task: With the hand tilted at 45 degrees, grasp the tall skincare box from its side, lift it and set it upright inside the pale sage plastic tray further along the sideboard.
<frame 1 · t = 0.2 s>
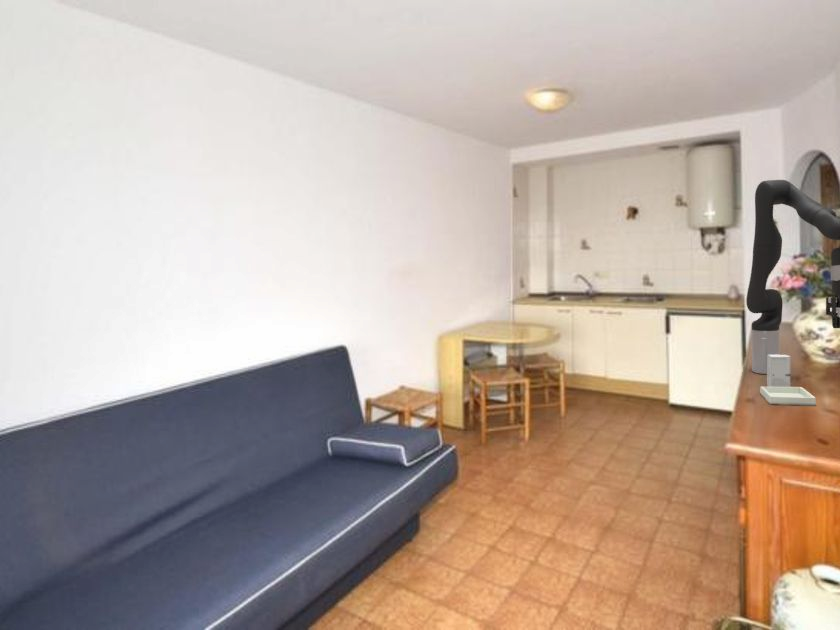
tray: (786, 399, 171), on the table
skincare box: (778, 389, 183), on the table
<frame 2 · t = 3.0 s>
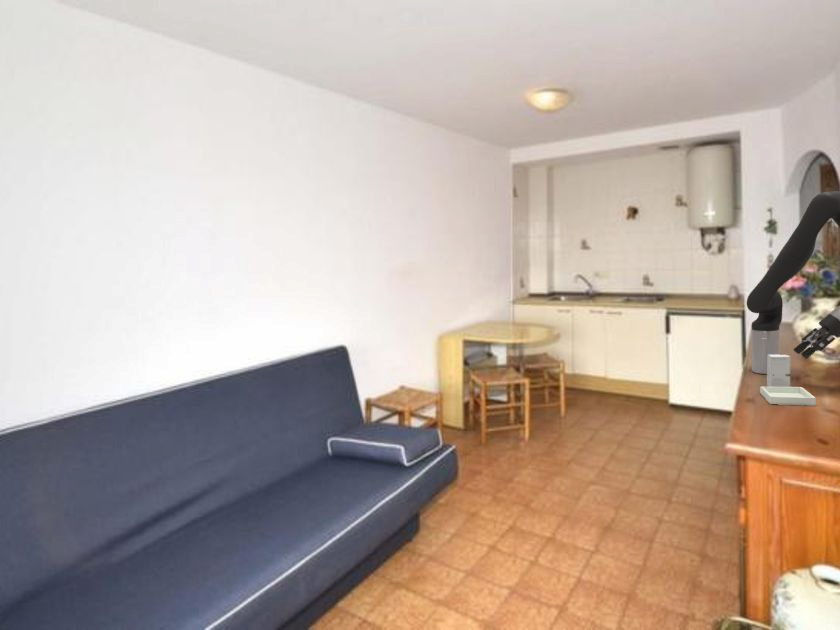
hand: (799, 354, 180), 12 cm above the table, tool tilted 45°, fingers open, 8 cm apart
nothing on the table moved.
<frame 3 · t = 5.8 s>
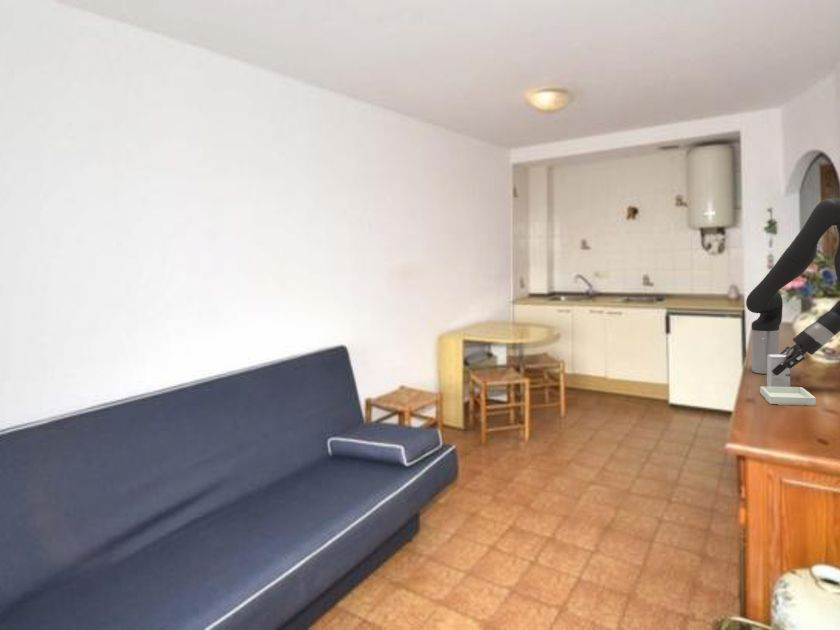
hand: (772, 371, 183), 6 cm above the table, tool tilted 45°, fingers closed on skincare box, 4 cm apart
skincare box: (778, 389, 183), on the table, touching gripper
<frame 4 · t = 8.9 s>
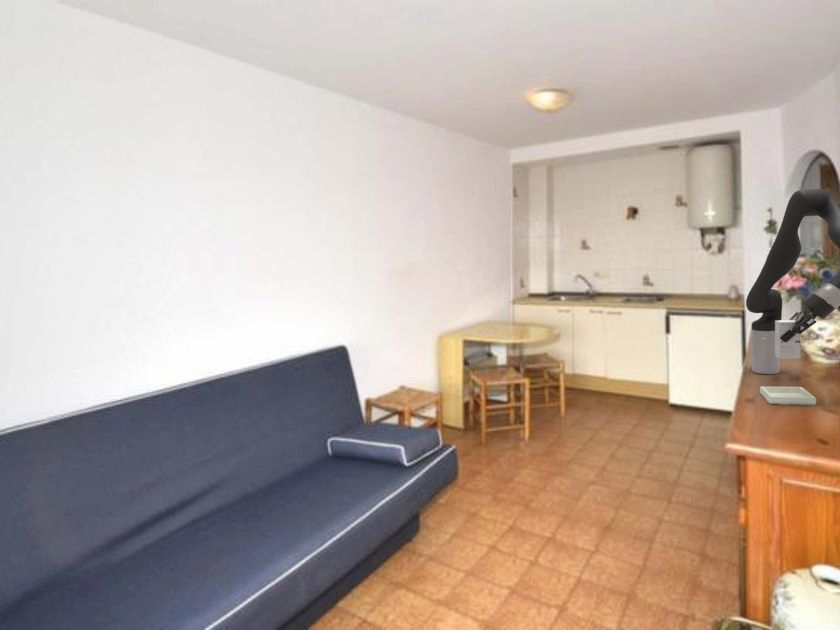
hand: (780, 339, 169), 20 cm above the table, tool tilted 45°, fingers closed on skincare box, 4 cm apart
skincare box: (787, 358, 169), point 14 cm above the table, touching gripper
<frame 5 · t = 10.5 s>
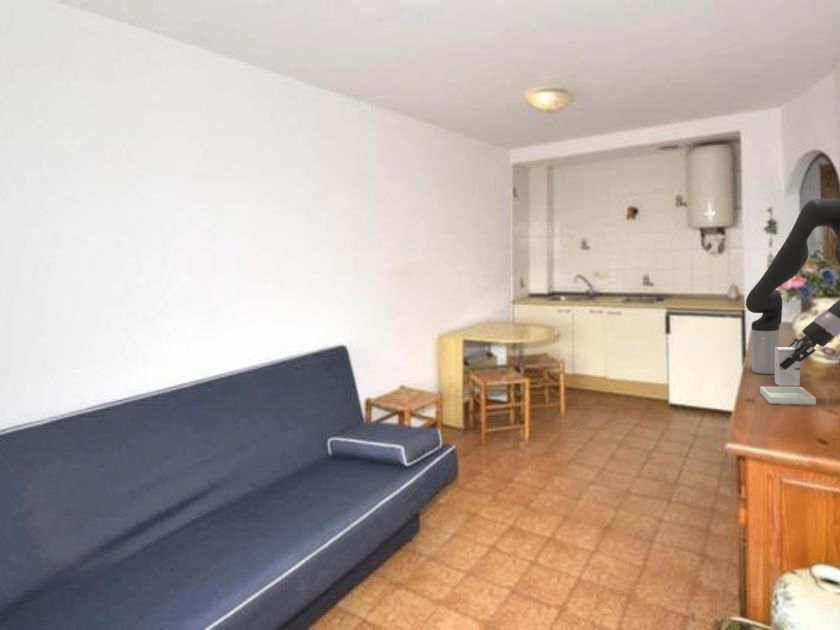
hand: (780, 365, 170), 11 cm above the table, tool tilted 45°, fingers closed on skincare box, 4 cm apart
skincare box: (787, 384, 170), point 5 cm above the table, touching gripper
when the fingers open (8 cm above the table, at t = 12.0 s): skincare box drops 1 cm, resting on tray.
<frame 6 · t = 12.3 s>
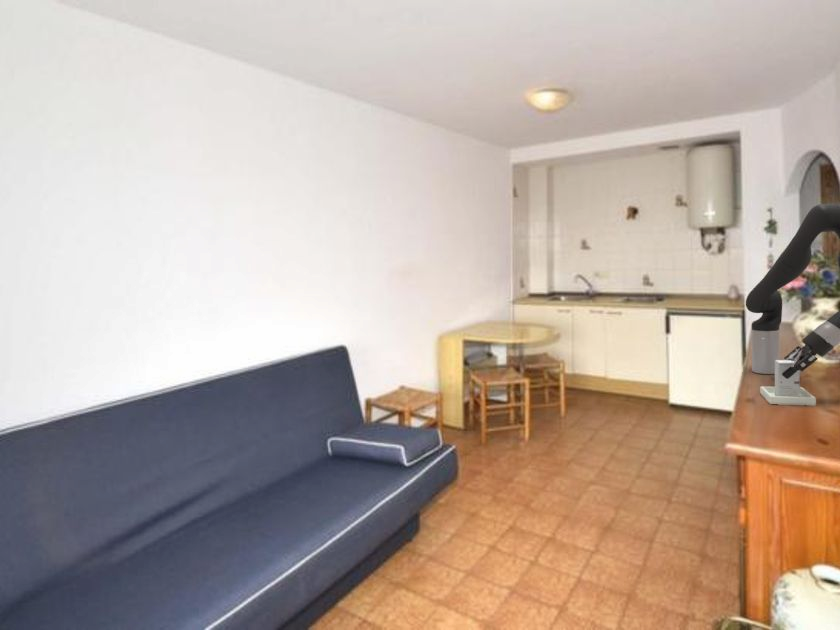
hand: (781, 374, 170), 8 cm above the table, tool tilted 45°, fingers open, 7 cm apart
skincare box: (787, 397, 171), resting on tray
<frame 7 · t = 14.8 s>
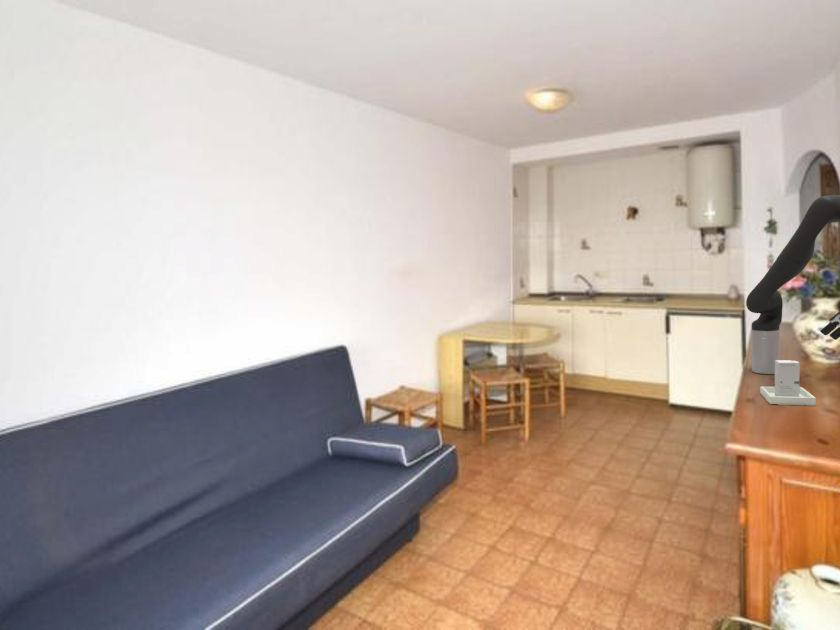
hand: (827, 335, 165), 21 cm above the table, tool tilted 45°, fingers open, 8 cm apart
nothing on the table moved.
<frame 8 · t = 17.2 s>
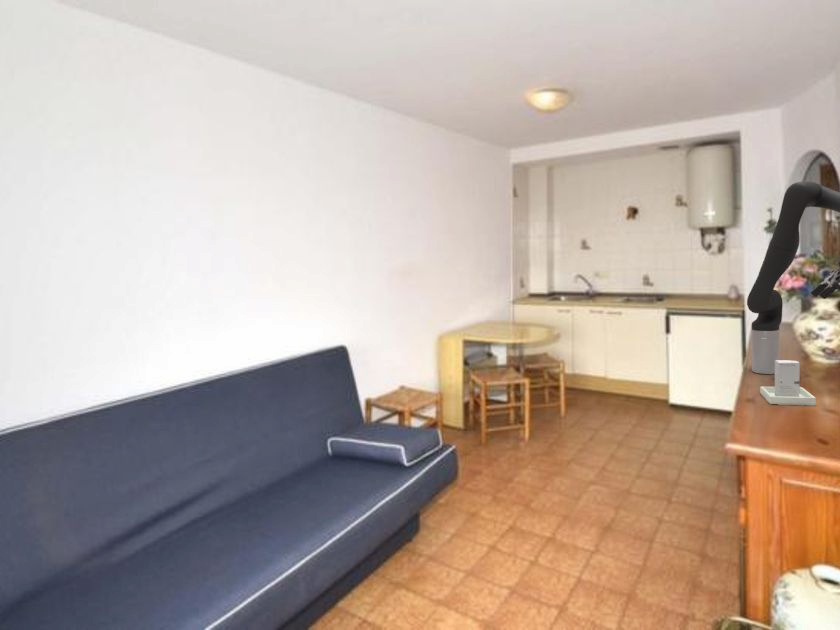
hand: (817, 296, 174), 33 cm above the table, tool tilted 45°, fingers open, 8 cm apart
nothing on the table moved.
at the end: skincare box inside the target area on the tray (0.4 cm from its centre), point 0.4 cm above the tray's base; skincare box tilted 0°; the gripper is holding nothing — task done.
